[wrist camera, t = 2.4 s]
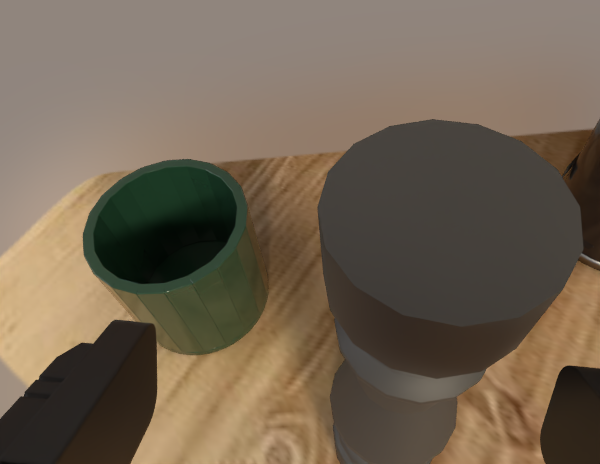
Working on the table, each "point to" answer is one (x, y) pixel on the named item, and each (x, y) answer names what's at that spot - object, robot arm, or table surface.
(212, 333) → the pot
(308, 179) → the table surface
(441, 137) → the candle holder
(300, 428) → the table surface
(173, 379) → the table surface
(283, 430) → the table surface
